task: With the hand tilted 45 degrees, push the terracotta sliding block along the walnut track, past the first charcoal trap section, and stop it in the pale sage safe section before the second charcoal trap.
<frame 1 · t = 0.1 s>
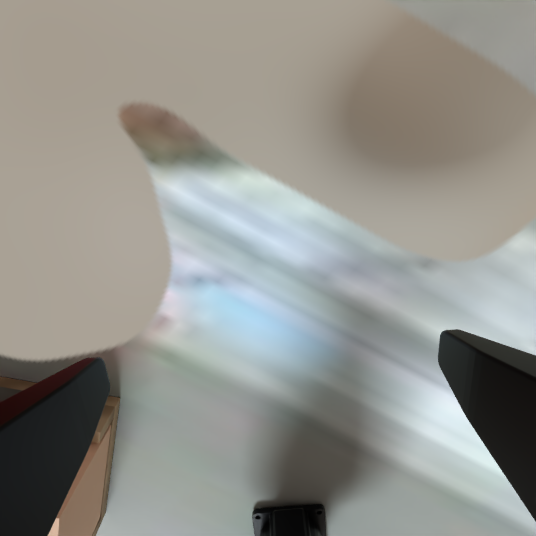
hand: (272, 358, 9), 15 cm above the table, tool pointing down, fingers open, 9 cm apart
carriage: (39, 511, 24), point 5 cm above the table, slide at 0.0 cm
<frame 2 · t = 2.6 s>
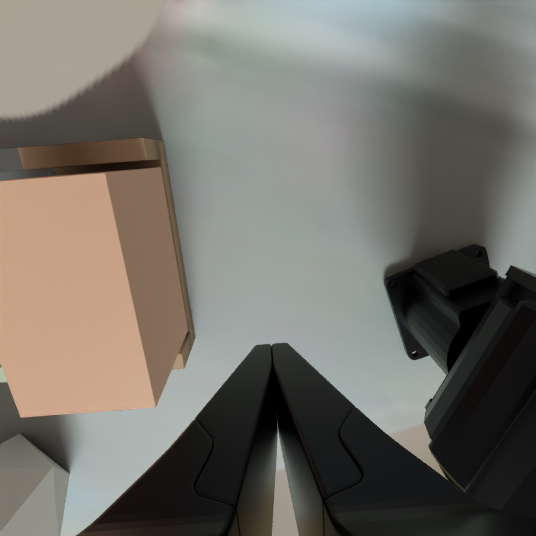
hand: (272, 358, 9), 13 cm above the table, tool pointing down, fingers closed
track: (31, 260, 21), on the table
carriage: (98, 279, 17), point 5 cm above the table, slide at 0.0 cm
die: (33, 460, 27), on the table
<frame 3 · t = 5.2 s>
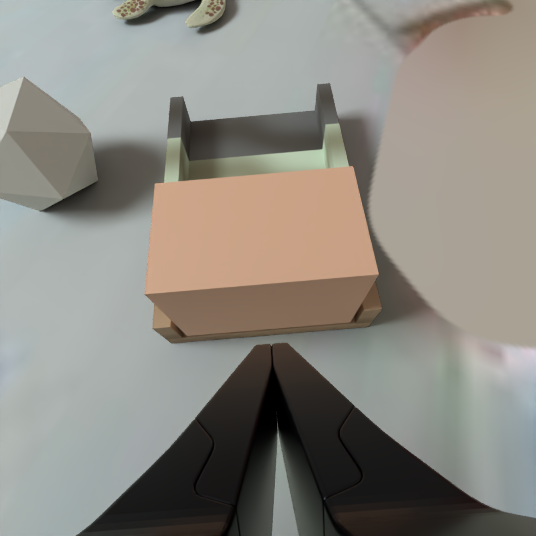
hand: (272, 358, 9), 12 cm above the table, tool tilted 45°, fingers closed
track: (260, 213, 26), on the table
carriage: (261, 259, 19), point 5 cm above the table, slide at 0.0 cm
die: (64, 186, 29), on the table
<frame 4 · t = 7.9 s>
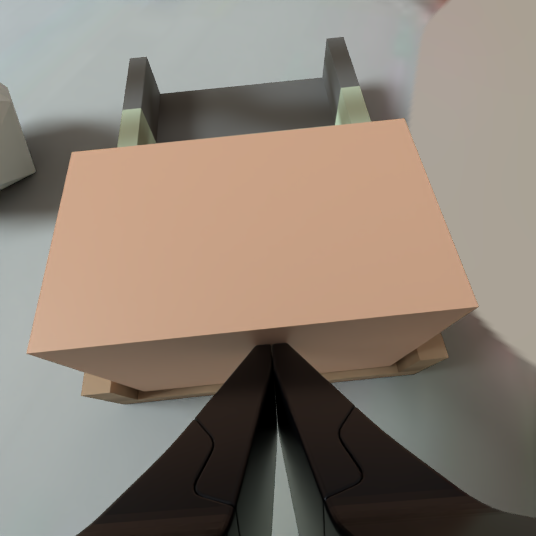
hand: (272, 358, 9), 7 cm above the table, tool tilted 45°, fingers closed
track: (253, 212, 19), on the table
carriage: (255, 275, 12), point 5 cm above the table, slide at 0.2 cm, touching gripper
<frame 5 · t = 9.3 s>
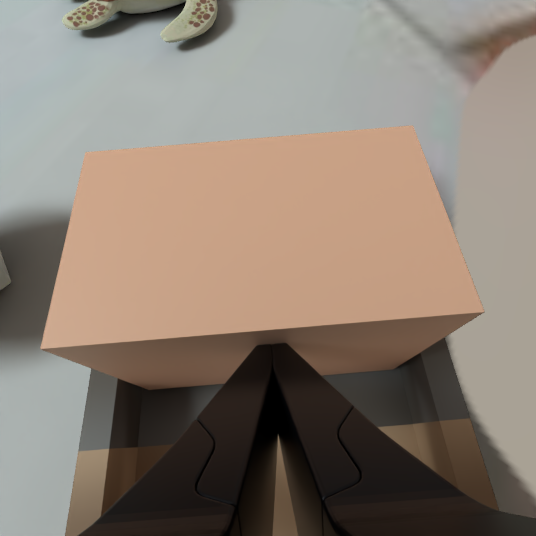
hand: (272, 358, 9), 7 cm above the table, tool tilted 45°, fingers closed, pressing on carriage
track: (269, 352, 16), on the table
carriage: (261, 276, 12), point 5 cm above the table, slide at 8.1 cm, touching gripper
decorative turtle: (160, 3, 31), on the table
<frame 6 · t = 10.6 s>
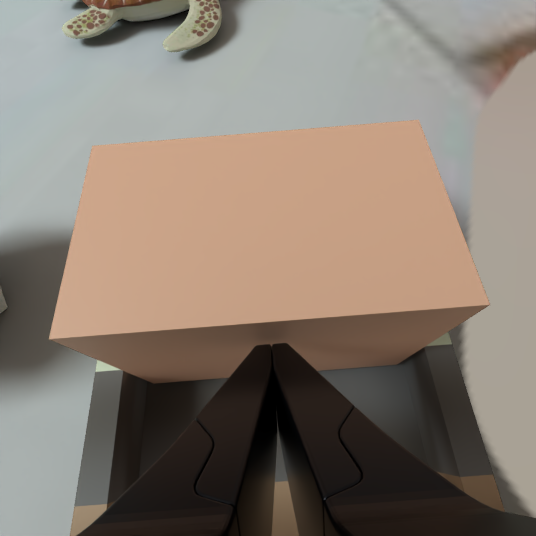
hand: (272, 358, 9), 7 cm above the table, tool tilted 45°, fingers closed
track: (276, 386, 15), on the table
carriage: (266, 271, 12), point 5 cm above the table, slide at 9.8 cm
decorative turtle: (163, 10, 30), on the table
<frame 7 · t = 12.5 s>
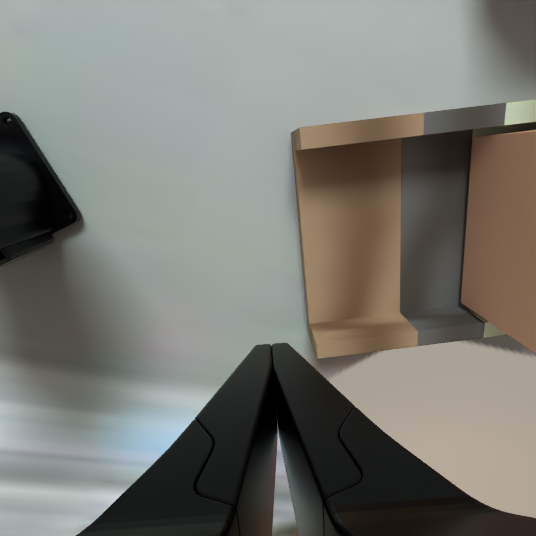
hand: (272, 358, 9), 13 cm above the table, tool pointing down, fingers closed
track: (448, 222, 22), on the table
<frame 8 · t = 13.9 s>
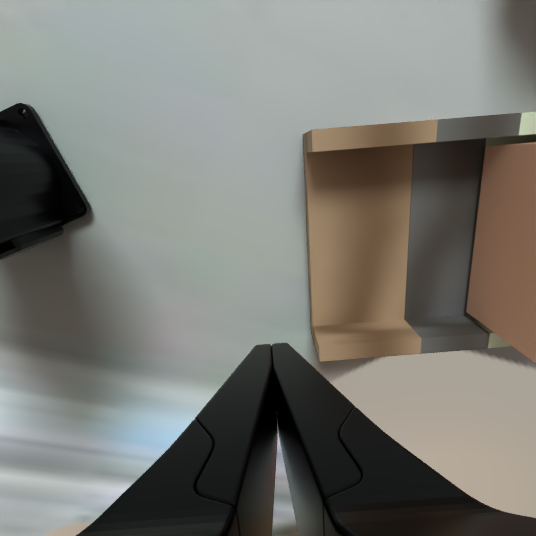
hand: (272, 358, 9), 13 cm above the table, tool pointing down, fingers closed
track: (457, 230, 21), on the table
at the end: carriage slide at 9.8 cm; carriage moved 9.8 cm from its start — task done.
